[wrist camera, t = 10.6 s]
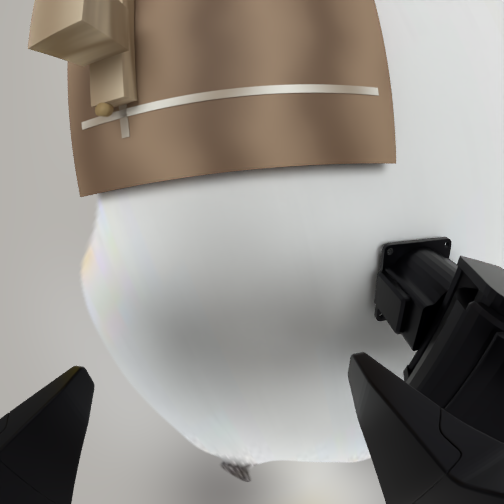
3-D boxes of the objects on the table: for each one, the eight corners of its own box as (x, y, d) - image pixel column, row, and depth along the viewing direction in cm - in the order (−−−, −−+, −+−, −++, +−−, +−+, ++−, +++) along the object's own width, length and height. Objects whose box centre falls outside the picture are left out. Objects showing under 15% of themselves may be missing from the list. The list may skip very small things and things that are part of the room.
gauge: (151, -38, 11) (110, -104, 2) (157, 115, 16) (83, 98, 7) (114, -26, 11) (60, -80, 2) (115, 125, 16) (25, 124, 7)
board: (356, -15, 12) (366, -27, 10) (382, 160, 17) (396, 163, 15) (83, 18, 12) (70, 10, 10) (94, 191, 18) (79, 197, 16)
